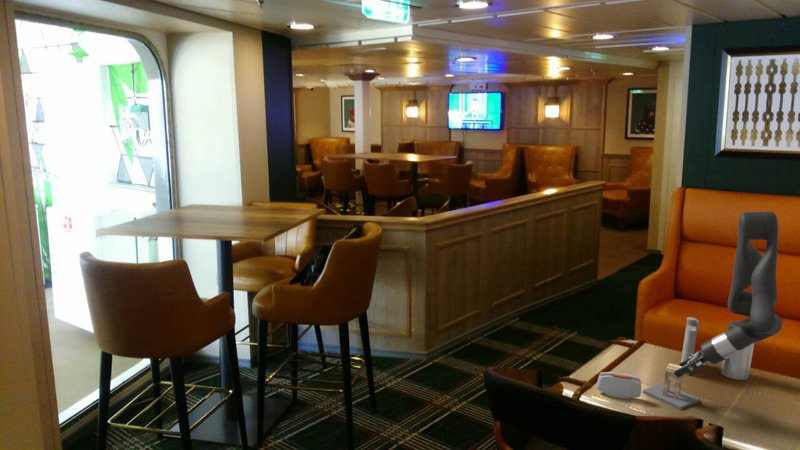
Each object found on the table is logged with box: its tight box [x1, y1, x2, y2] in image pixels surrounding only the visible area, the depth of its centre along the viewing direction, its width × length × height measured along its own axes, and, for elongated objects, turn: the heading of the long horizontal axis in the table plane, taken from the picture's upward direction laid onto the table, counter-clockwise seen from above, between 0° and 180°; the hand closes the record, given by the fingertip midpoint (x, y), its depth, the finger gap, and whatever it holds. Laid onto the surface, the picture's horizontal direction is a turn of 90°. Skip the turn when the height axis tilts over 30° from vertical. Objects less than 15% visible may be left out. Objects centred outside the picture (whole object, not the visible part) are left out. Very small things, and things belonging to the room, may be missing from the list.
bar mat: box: [642, 382, 701, 410], centre depth 216 cm, size 12×14×1 cm
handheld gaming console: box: [596, 371, 642, 400], centre depth 214 cm, size 14×3×8 cm, turn 74°
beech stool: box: [663, 363, 684, 399], centre depth 215 cm, size 5×5×10 cm
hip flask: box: [680, 316, 699, 376], centre depth 241 cm, size 16×4×20 cm, turn 152°
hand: (678, 370), depth 214 cm, fingers open, 8 cm apart
